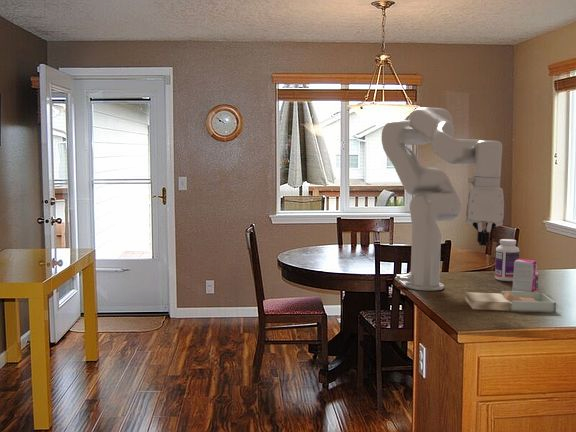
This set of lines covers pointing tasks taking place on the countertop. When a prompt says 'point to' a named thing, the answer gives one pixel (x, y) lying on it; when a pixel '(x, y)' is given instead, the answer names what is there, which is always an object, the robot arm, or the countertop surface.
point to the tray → (532, 302)
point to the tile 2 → (526, 299)
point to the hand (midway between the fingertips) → (482, 244)
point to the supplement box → (524, 275)
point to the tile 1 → (510, 297)
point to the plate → (487, 301)
